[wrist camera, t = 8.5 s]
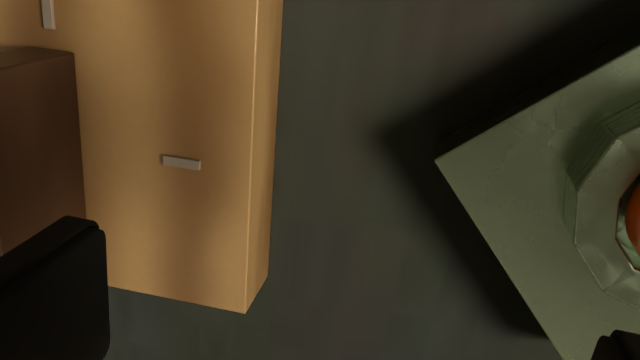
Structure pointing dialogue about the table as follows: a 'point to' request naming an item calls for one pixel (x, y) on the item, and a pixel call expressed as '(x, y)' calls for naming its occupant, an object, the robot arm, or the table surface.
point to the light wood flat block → (171, 135)
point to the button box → (561, 193)
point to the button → (634, 219)
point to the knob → (38, 143)
